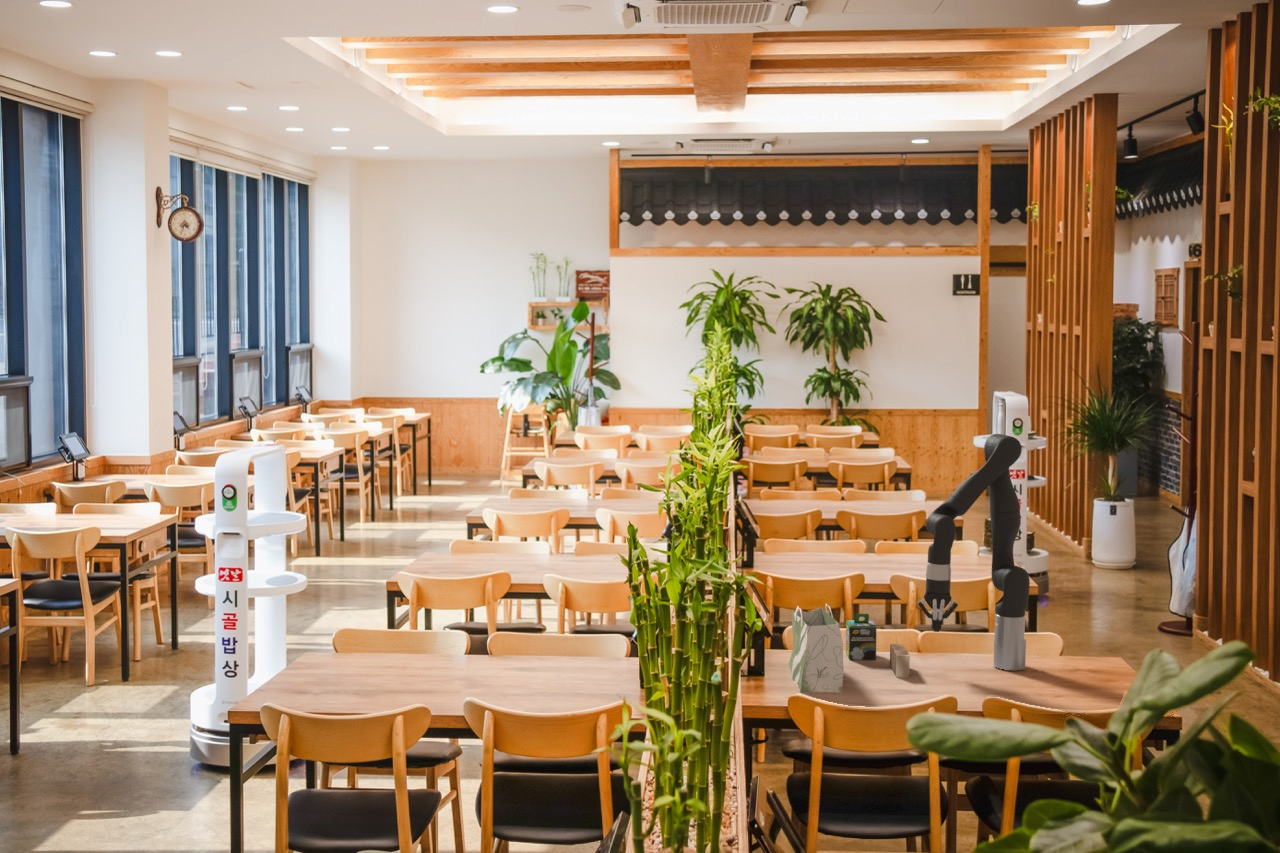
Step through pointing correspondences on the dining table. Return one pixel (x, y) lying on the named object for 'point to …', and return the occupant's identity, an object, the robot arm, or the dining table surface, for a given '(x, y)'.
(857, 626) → the chalk box
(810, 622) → the grocery bag
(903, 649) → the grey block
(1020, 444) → the robot arm
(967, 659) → the dining table surface
